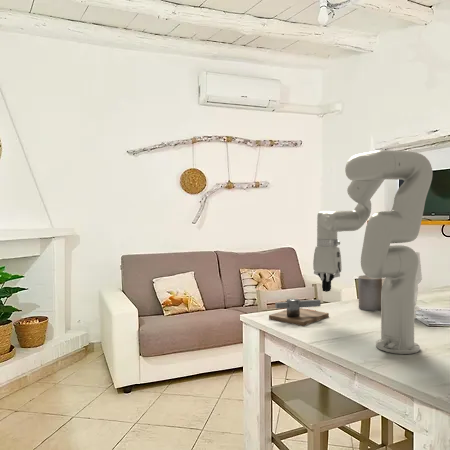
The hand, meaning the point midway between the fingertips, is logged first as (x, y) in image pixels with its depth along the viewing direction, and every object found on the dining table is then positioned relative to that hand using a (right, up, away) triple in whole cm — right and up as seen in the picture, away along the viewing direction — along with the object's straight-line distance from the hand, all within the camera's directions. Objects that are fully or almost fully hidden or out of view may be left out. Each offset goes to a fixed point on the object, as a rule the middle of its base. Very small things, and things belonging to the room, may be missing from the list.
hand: (326, 290), depth 171 cm
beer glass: (+33, -11, +4) cm, 35 cm away
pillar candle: (+23, -11, +20) cm, 32 cm away
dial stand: (-10, -11, +5) cm, 16 cm away
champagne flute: (+41, -11, +18) cm, 46 cm away
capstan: (-10, -10, +3) cm, 15 cm away
